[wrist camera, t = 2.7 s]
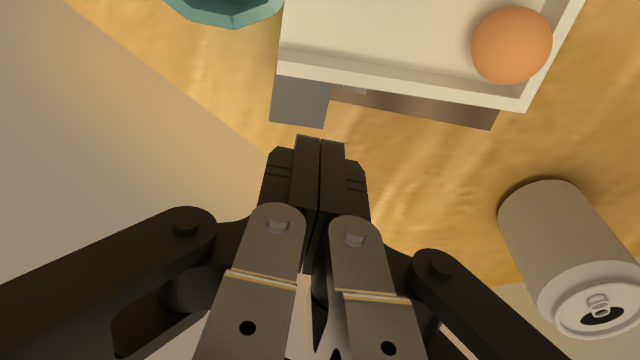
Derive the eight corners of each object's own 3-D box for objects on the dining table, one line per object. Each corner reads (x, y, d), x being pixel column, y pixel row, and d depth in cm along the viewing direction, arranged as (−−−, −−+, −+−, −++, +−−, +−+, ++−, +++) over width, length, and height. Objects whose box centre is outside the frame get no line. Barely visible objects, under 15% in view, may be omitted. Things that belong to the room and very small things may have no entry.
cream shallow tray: (561, -27, 23) (593, -15, 20) (478, 143, 29) (495, 167, 27) (295, -86, 20) (296, -81, 18) (269, 114, 27) (267, 137, 24)
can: (507, 246, 41) (560, 358, 31) (482, 195, 37) (533, 302, 28) (587, 218, 38) (672, 329, 29) (568, 160, 35) (657, 264, 25)
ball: (537, 3, 23) (585, 25, 20) (505, 71, 25) (544, 100, 22) (475, -8, 22) (516, 13, 19) (448, 63, 24) (480, 92, 21)
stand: (577, -64, 25) (633, -53, 21) (486, 124, 33) (511, 165, 28) (326, -124, 24) (323, -128, 19) (292, 86, 32) (284, 122, 27)
